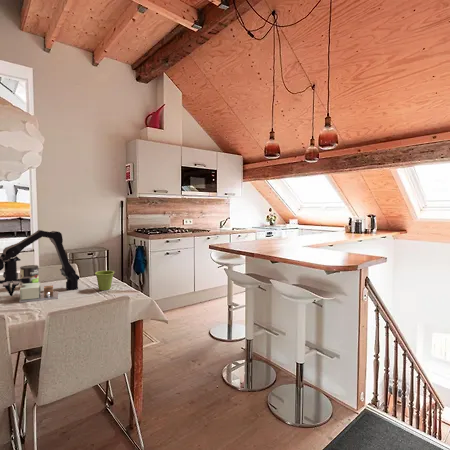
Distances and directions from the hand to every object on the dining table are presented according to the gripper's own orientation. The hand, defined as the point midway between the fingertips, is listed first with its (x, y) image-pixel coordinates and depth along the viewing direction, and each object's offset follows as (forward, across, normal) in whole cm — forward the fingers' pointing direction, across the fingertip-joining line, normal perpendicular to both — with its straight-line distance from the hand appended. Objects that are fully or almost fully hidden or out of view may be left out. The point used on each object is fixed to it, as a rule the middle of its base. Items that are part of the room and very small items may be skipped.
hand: (11, 296), depth 174 cm
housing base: (+2, -14, 0) cm, 14 cm away
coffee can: (+3, -6, -27) cm, 28 cm away
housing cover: (+1, -9, 0) cm, 9 cm away
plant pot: (+3, -50, -3) cm, 51 cm away
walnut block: (+2, -18, 0) cm, 19 cm away
